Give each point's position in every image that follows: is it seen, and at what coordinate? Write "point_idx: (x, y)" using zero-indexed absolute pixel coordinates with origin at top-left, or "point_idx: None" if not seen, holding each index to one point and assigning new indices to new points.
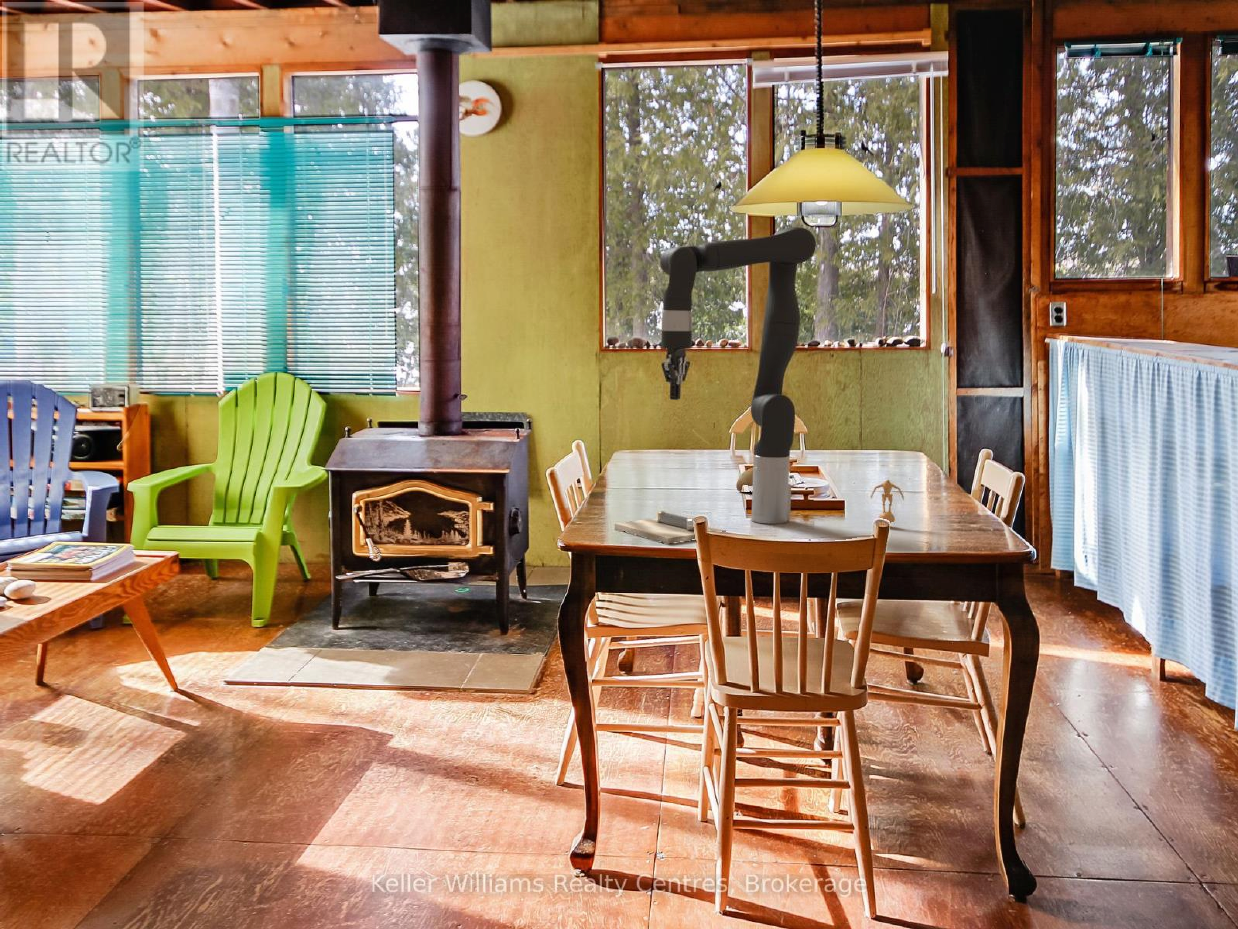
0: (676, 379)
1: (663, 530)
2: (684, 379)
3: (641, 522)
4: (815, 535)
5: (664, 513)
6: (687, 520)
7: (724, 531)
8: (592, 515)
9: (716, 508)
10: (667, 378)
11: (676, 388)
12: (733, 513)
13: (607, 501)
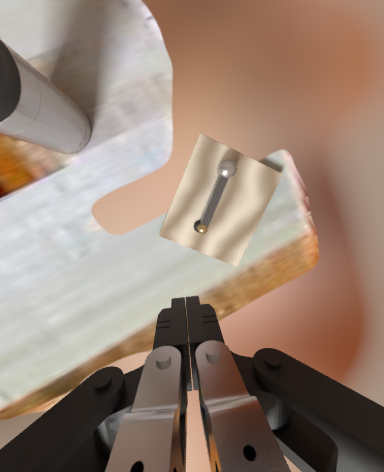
0: (276, 360)
1: (244, 200)
2: (108, 374)
3: (215, 245)
4: (118, 20)
5: (206, 222)
6: (234, 174)
7: (202, 134)
8: None
9: (32, 232)
10: (297, 417)
11: (210, 333)
12: (49, 196)
13: (90, 356)
